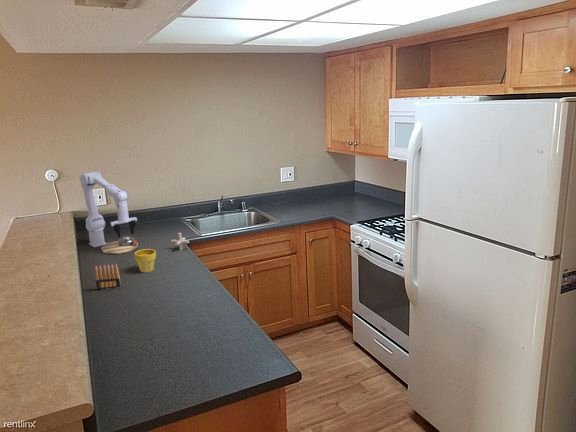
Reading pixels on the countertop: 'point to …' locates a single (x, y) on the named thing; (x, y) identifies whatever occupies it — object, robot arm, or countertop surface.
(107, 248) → the beige round shallow disc
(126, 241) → the cover
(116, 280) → the ammunition clip
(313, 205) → the countertop surface
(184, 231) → the countertop surface
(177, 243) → the pipe connector
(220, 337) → the countertop surface
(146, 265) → the plant pot
